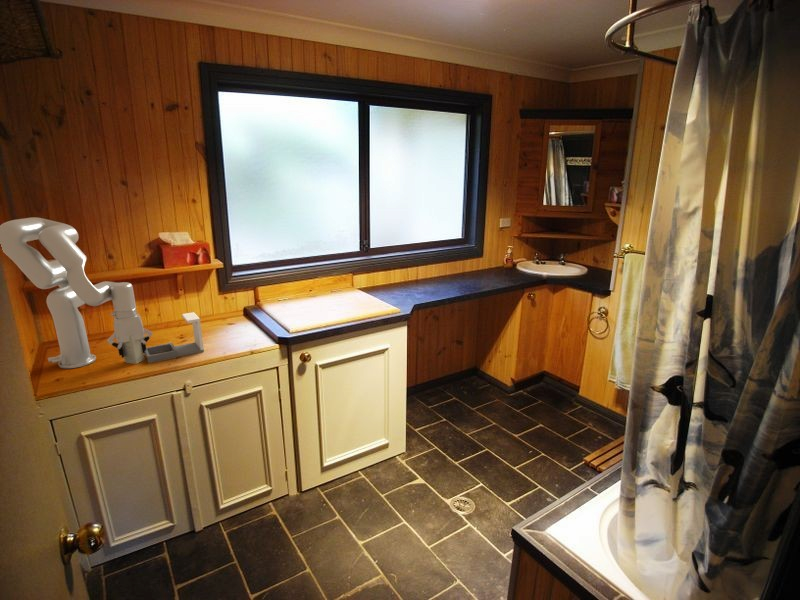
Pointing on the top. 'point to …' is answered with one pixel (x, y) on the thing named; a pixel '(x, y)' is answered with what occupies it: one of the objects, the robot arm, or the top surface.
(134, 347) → the skincare box
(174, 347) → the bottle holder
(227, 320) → the top surface
